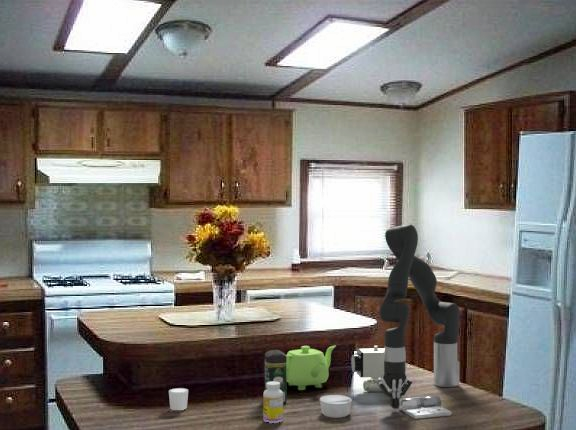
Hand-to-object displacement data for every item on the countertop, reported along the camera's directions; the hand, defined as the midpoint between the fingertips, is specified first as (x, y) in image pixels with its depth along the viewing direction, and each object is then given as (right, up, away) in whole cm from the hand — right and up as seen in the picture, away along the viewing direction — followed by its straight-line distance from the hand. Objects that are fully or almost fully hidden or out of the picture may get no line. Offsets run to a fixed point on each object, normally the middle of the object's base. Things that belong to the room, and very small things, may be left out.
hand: (394, 408), depth 248 cm
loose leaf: (+10, -1, -1) cm, 10 cm away
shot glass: (-76, -1, +2) cm, 76 cm away
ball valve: (-3, -1, +27) cm, 27 cm away
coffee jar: (-42, -1, +13) cm, 44 cm away
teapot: (-28, -1, +34) cm, 44 cm away
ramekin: (-21, -2, -3) cm, 21 cm away
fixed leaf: (+9, -1, +7) cm, 11 cm away
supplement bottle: (-43, -2, -11) cm, 44 cm away
